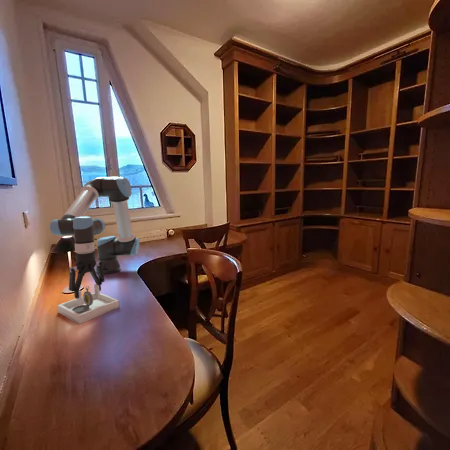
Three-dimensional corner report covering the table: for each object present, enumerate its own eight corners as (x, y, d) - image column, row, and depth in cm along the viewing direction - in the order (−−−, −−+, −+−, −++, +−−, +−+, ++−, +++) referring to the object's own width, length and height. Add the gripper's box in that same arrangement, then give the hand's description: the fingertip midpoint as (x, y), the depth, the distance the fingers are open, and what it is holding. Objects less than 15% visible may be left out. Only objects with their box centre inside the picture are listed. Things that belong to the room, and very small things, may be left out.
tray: (97, 298, 126) (97, 291, 126) (119, 307, 116) (118, 300, 116) (58, 312, 111) (57, 305, 111) (79, 324, 101) (78, 316, 101)
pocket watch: (68, 314, 108) (66, 291, 106) (79, 305, 116) (78, 284, 115) (87, 313, 108) (86, 291, 107) (97, 305, 116) (96, 284, 115)
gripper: (64, 257, 100) (69, 312, 103) (111, 248, 117) (114, 295, 120) (55, 255, 104) (60, 307, 107) (102, 246, 121) (105, 292, 124)
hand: (88, 301), depth 113 cm, fingers open, 7 cm apart
